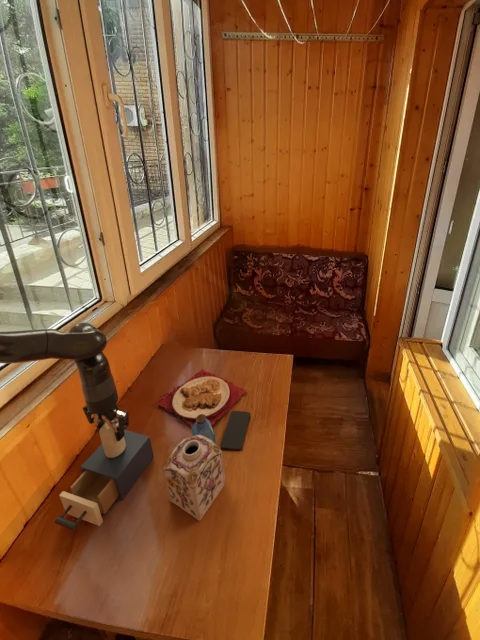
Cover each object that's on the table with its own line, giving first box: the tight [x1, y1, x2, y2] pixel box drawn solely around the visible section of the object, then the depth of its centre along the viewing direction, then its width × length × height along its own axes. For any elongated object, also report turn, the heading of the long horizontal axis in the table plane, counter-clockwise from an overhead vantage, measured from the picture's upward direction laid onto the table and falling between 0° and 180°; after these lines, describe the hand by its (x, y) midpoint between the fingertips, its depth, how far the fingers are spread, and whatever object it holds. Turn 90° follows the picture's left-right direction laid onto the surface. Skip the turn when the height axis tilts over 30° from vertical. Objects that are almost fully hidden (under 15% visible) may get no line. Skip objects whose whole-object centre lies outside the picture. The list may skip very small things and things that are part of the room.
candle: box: [98, 419, 126, 458], centre depth 91 cm, size 6×6×10 cm
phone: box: [220, 410, 251, 451], centre depth 110 cm, size 7×1×15 cm
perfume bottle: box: [191, 414, 217, 445], centre depth 103 cm, size 6×6×12 cm
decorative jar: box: [162, 435, 226, 522], centre depth 87 cm, size 12×12×18 cm
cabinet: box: [80, 429, 155, 502], centre depth 95 cm, size 14×13×9 cm
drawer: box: [54, 470, 119, 532], centre depth 86 cm, size 17×11×7 cm
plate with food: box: [156, 368, 247, 427], centre depth 123 cm, size 24×26×3 cm
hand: (112, 435), depth 91 cm, fingers closed on candle, 5 cm apart
